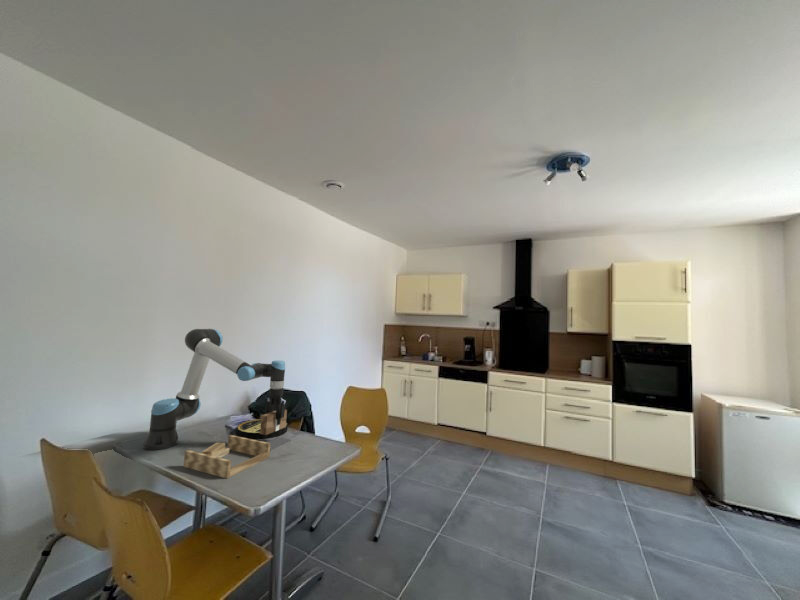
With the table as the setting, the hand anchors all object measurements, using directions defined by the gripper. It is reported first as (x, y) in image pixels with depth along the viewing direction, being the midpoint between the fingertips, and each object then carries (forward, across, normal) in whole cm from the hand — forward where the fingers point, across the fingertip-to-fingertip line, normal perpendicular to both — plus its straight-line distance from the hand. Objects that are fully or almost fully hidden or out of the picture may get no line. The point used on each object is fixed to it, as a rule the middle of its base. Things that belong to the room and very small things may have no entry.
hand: (273, 429), depth 180 cm
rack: (+8, -2, -27) cm, 28 cm away
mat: (+8, 0, 0) cm, 8 cm away
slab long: (+9, -12, -27) cm, 31 cm away
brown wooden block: (0, 0, 0) cm, 0 cm away
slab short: (+6, -12, -27) cm, 31 cm away
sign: (+9, -21, +15) cm, 27 cm away
